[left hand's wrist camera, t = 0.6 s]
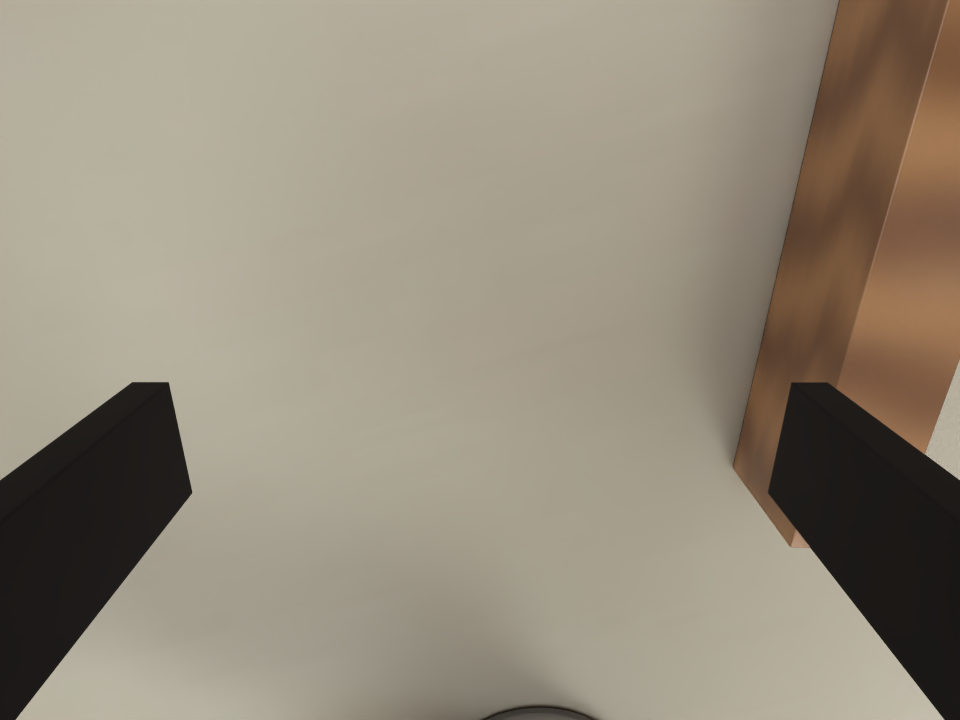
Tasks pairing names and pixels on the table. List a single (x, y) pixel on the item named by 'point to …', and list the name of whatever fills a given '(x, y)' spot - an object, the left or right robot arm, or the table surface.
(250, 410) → the table surface
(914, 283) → the bar
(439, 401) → the table surface
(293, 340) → the table surface
